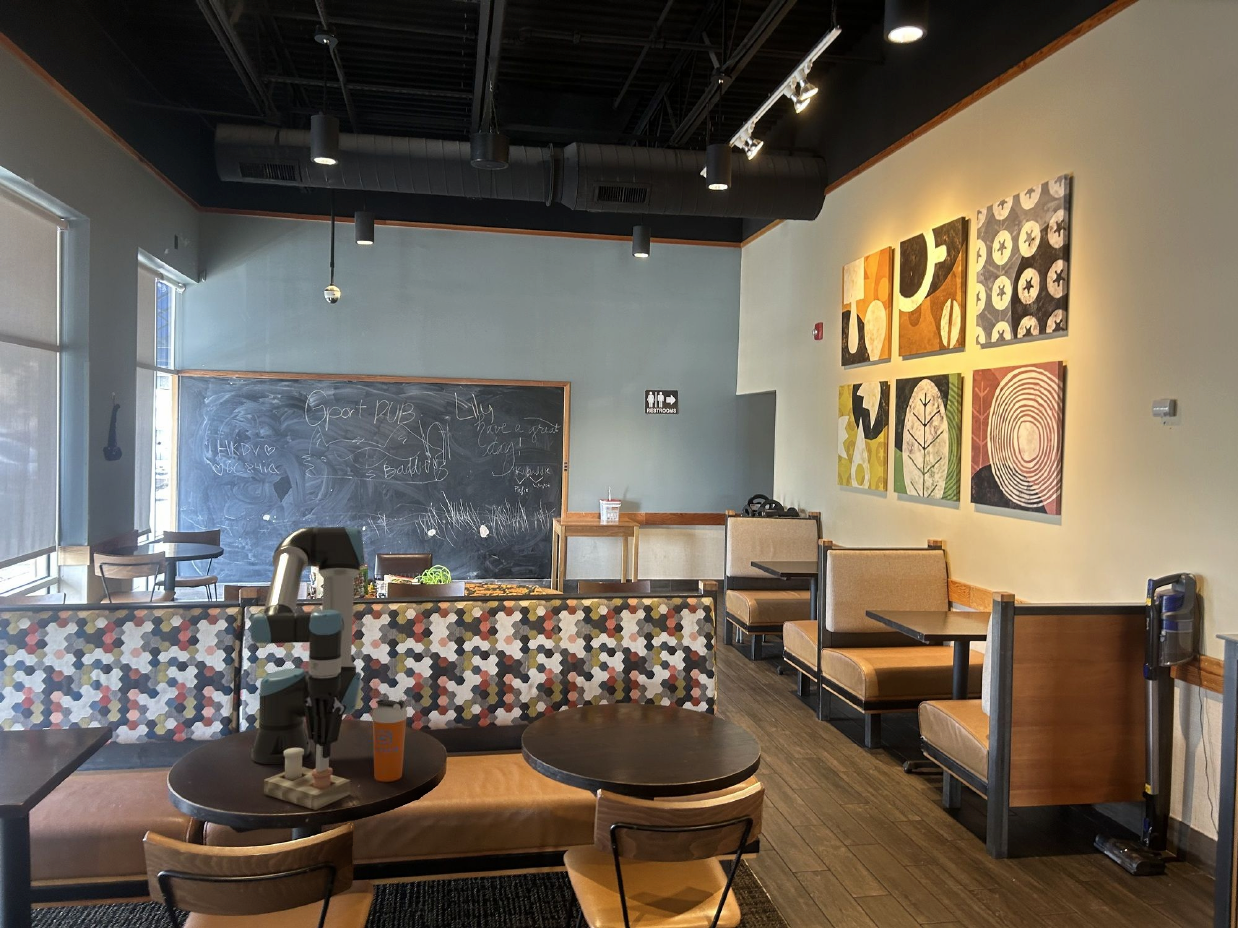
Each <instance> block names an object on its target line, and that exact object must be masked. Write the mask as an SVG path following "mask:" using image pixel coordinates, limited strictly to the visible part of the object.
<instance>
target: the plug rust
mask: <svg viewBox="0 0 1238 928" xmlns="http://www.w3.org/2000/svg"><path fill="white" fill-rule="evenodd" d="M331 775H333V768H332V767H329V769H327V770H324V771H322V772H318V771H316V767H315V768H314V769H312V776H313V788H317V789H320V790H322V789H324V788H327V787H329V786H330V780H331Z"/></svg>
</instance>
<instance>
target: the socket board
mask: <svg viewBox="0 0 1238 928" xmlns="http://www.w3.org/2000/svg"><path fill="white" fill-rule="evenodd" d="M312 770H313V769H311V768H307V767H305V766H302V778H299V779H297V780H294V781H290V780H286V779H285V771H283V772H280V773H278V774H275V775H273V776H270V777H268V778H265V779H263V795H266V796H270V797H273V798H277V799H278V800H283V801H285V802H289V803H292V804H296V805H298V806H302V807H306V808H308V809H312V810H314V811H317V810H319V809H321V808H323V807H325V806H328V805H329V804H331V803H334V802H337V801H339V800H341V799H343V798H346V796H349V795H351V779H347V778H343V777H341V776H340V777H339V776H337V775H333V774H331V780H330V786H329V787H327V788H324V789H322V790H320V789H317V788H313V776H312Z"/></svg>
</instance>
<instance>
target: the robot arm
mask: <svg viewBox="0 0 1238 928" xmlns="http://www.w3.org/2000/svg"><path fill="white" fill-rule="evenodd" d="M272 566H273V572H272V575H271V576H272V577H271V580H270V584H269V588H268V592H267V597H266V601H265V605H264V610H263V612H260V613H255V614H253V615H252V617H251V622H250V638H251V641H252V642H253V643H255V644H267V645H271V644H272V645H273V644H289V643H290V644H292V643H294V644H295V643H298V644H299V643H300V644H302V643H309V644H308V646H309V648H308V649H309V653H308V674H307V673H306V671H305V669H304V668H297V667H295V668H293V667H291V668H285V669H280V670H276V671H273V672H271V673H268V674H267V675H265V676H264V677H262V679H261V680H260V684H259V685H260V687H259V692H258V696H259V708H258V709H259V714H258V717H259V718H258V730H257V734H256V737H255V741H254V744H253V745H252V748H251V760H252V761H253V762H255V763H257V764H263V765H264V764H265V765H282V764H283V765H284V764H285V757H284V751H285V750H287V749H290V748H302V749H304V754H303V755H302V759H304V758H306V757H307V756H309V755H310V746H311V745H310V741H309V740H312V741H313V743H314V756H315V768H316V771H318V772H322V771H324V770H327V769H329V766H330V762H329V761H330V760H329V759H330V757H331V750H332V749H331V746H332V745H331V744H333V743H336V742H338V740H339V735H340V731H341V726H342V720H343V716H347V715H348V716H349V715H351V714H353V713H354V712H355V710H356V708H357V703H358V698H359V694H360V687H361V679H362V673H361V672H359V671H357V665H356V664H355V663H354V662H353V660H352V648H353V647H352V645H353V644H352V643H353V641H352V640H353V622H354V619H353V616H354V615H353V614H354V595H355V594H354V591H355V590H354V588H355V577H357V576H358V575H359V574H360V572H361V568H363V567H365V566H366V562H365V551H364V543H363V534H362V530H361V529H360V528H358V527H347V526H328V527H327V526H325V527H323V526H321V527H320V526H316V527H315V526H307V527H302V528H299V529H297V530H295V531H293V532H290V534H288V535H287V536H285V537H284V538H283V539H282V540H281V541H280V542H279V543H278V545H277V547H275V550H274V552H273V557H272ZM307 567H308V568H309V567H317V568H318V574H320V575H319V576H321V577H322V578H323V582H322V583H323V584H322V585H323V586H322V590H323V591H322V601H321V602H322V605H321V610H320V609H319V610H317V611H314V612H312V611H311V612H296V608H297V603H298V598H299V593H300V587H301V583H302V582H301V581H302V577H303V576H302V575H303V572H304V571H305V570H306V568H307ZM304 720H305V722H304ZM304 723H306V729H305V725H304ZM306 731H307V732H306Z"/></svg>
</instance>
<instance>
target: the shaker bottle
mask: <svg viewBox="0 0 1238 928" xmlns="http://www.w3.org/2000/svg"><path fill="white" fill-rule="evenodd" d="M375 703H376V704H377V706H376V707H375V708H374V710H373V711H372V713H371V715H372V718H371V721H372V726H373V729H372V730H373V731H372V733H373V768H374V769H373V770H374V773H373V776H374V780H375V781H378V782H382V783H383V782H385V783H386V782H394V781H398V780H400V779H401V778H402V777H403V767H404V766H403V765H404V755H405V753H404V751H405V750H404V749H405V738H406V737H405V736H406V727H407V726H406V725H407V718H408V710H407V709H406V701H405V700H403V699H399V700H393V699H383V698H382V699H378V700H376V701H375Z"/></svg>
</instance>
